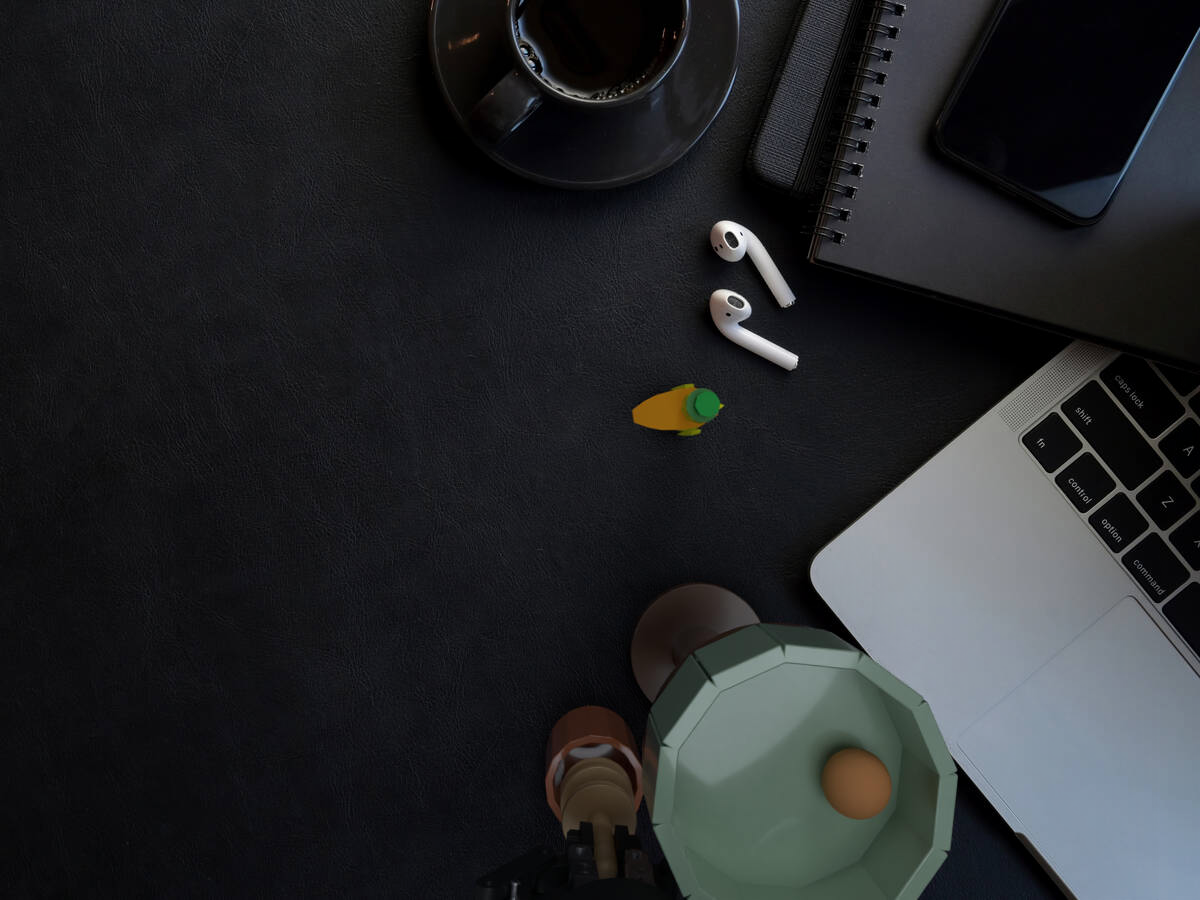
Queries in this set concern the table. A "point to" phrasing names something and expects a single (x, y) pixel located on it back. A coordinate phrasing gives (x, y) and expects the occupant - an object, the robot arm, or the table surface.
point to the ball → (856, 783)
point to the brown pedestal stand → (683, 631)
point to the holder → (590, 749)
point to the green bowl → (793, 772)
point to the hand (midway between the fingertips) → (602, 840)
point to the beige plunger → (599, 806)
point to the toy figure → (679, 410)
